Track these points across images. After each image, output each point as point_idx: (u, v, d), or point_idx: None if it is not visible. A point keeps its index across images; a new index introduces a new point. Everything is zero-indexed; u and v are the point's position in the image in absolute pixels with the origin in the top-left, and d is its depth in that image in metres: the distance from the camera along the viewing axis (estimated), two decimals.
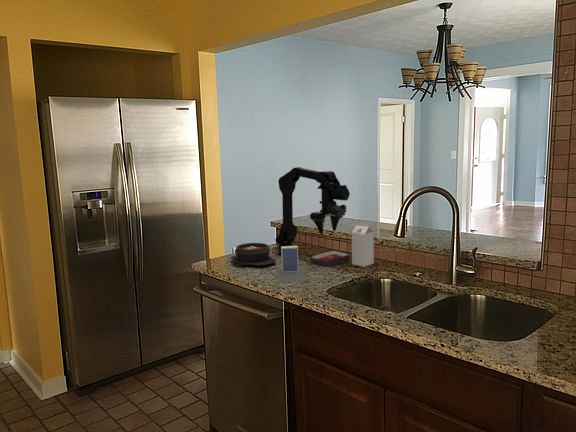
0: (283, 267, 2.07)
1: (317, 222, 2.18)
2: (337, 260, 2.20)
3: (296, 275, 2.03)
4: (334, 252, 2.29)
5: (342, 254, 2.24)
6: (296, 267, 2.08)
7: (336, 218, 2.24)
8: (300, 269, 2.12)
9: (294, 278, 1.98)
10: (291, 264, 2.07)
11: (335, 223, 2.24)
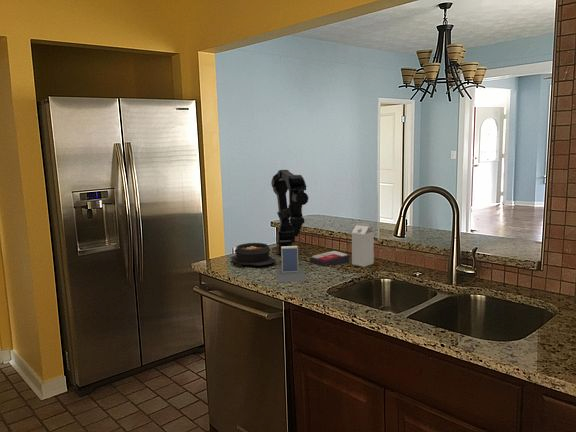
0: (283, 267, 2.07)
1: None
2: (336, 260, 2.20)
3: (296, 275, 2.03)
4: (335, 252, 2.29)
5: (342, 254, 2.24)
6: (296, 267, 2.08)
7: None
8: (300, 269, 2.12)
9: (294, 278, 1.98)
10: (291, 264, 2.07)
11: None
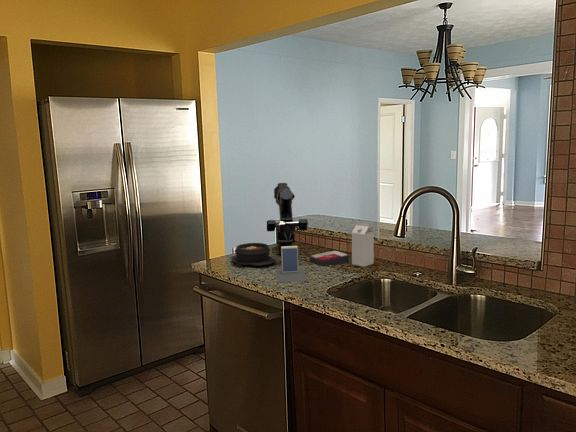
0: (283, 267, 2.07)
1: None
2: (335, 260, 2.20)
3: (296, 275, 2.03)
4: (335, 252, 2.29)
5: (342, 254, 2.24)
6: (296, 267, 2.08)
7: None
8: (300, 269, 2.12)
9: (294, 278, 1.98)
10: (291, 264, 2.07)
11: None
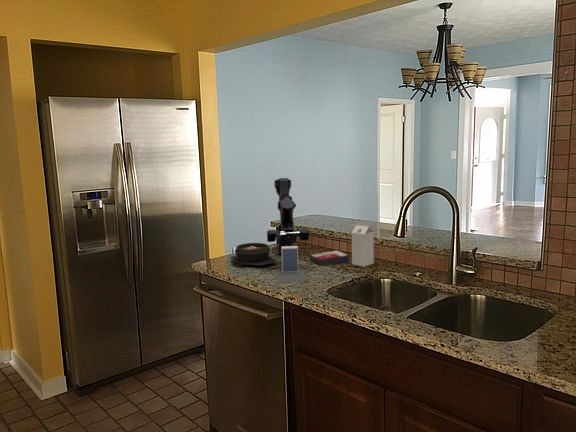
0: (283, 267, 2.07)
1: None
2: (333, 260, 2.20)
3: (296, 275, 2.03)
4: (336, 252, 2.29)
5: (341, 254, 2.24)
6: (296, 267, 2.07)
7: None
8: (300, 269, 2.12)
9: (294, 278, 1.98)
10: (291, 264, 2.07)
11: None
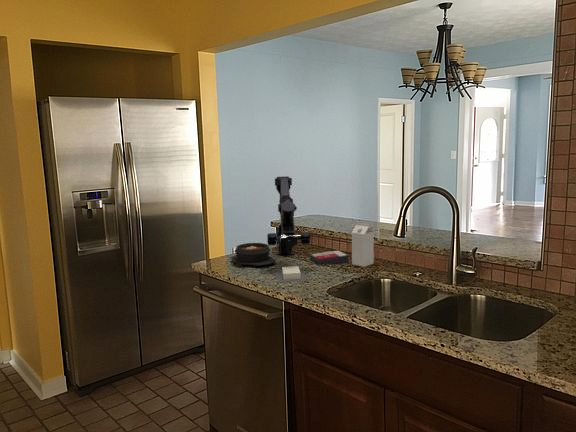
0: None
1: None
2: (332, 259, 2.21)
3: None
4: (337, 252, 2.30)
5: (341, 254, 2.24)
6: None
7: None
8: (300, 269, 2.12)
9: None
10: None
11: None
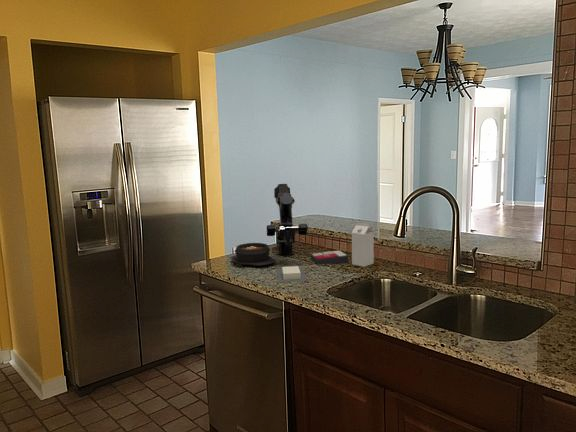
0: None
1: None
2: (331, 259, 2.21)
3: None
4: (337, 252, 2.30)
5: (341, 254, 2.24)
6: None
7: None
8: (300, 269, 2.12)
9: None
10: None
11: None
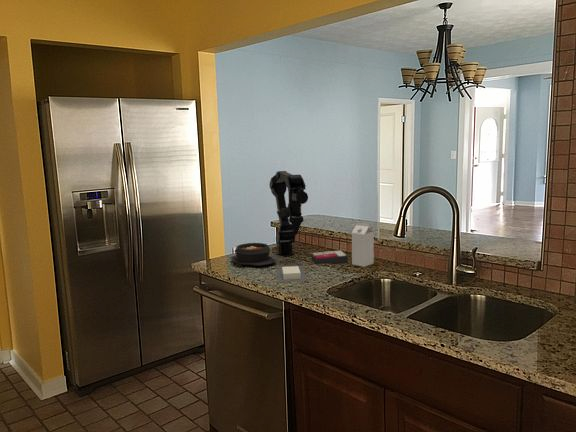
0: None
1: None
2: (330, 259, 2.21)
3: None
4: (338, 251, 2.30)
5: (341, 254, 2.24)
6: None
7: None
8: (300, 269, 2.12)
9: None
10: None
11: None
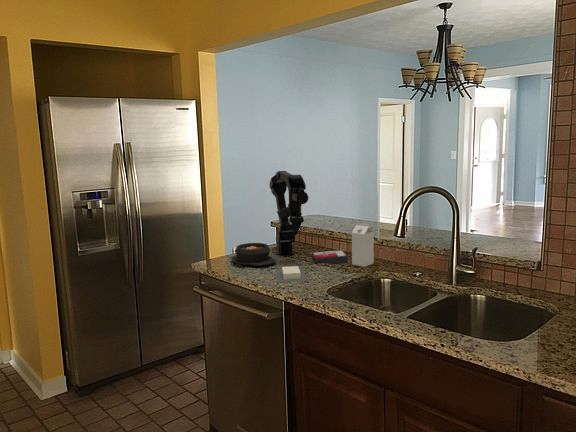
0: None
1: None
2: (330, 259, 2.22)
3: None
4: (339, 251, 2.30)
5: (341, 254, 2.24)
6: None
7: None
8: (300, 269, 2.12)
9: None
10: None
11: None
